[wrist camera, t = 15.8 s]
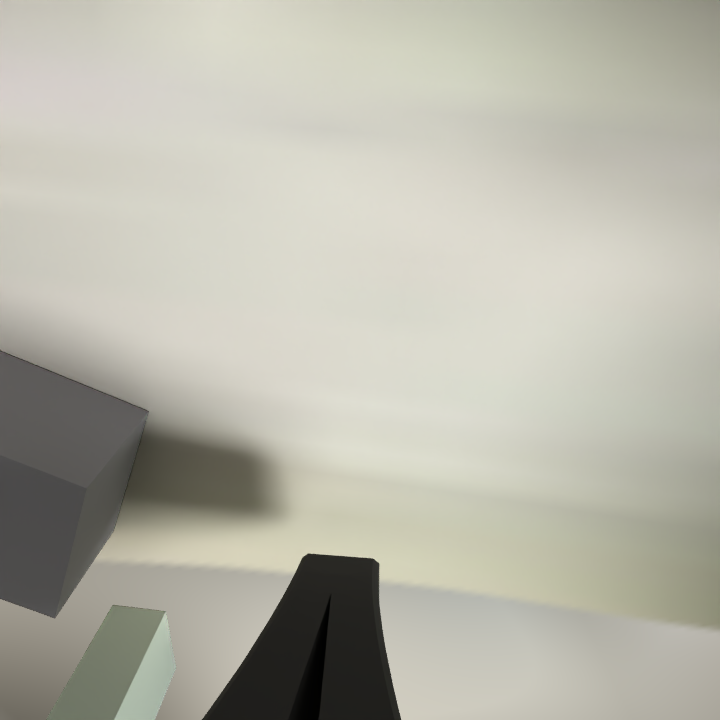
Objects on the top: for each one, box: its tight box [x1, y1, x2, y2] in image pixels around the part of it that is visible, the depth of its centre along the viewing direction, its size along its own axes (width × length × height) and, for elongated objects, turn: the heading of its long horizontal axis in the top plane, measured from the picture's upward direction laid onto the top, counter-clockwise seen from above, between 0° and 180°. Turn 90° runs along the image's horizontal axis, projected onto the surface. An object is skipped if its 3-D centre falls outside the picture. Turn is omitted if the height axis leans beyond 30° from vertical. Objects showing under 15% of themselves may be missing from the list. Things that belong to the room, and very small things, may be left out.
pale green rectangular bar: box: [46, 605, 176, 720], centre depth 9 cm, size 2×22×4 cm, turn 177°
